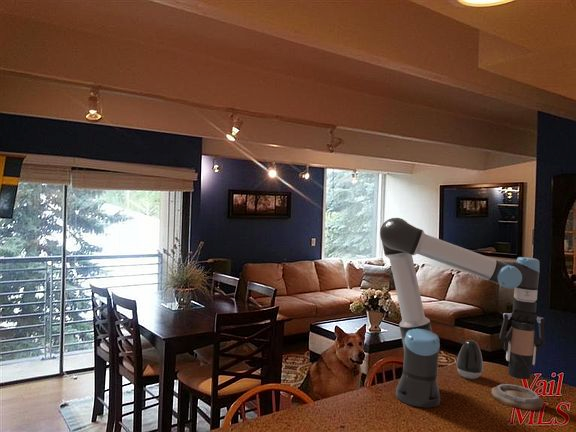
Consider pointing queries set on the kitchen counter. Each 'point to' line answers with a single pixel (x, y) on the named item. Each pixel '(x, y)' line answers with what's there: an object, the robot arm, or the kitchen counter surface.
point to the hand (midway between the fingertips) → (520, 361)
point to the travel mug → (521, 350)
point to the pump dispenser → (469, 360)
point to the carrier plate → (517, 397)
